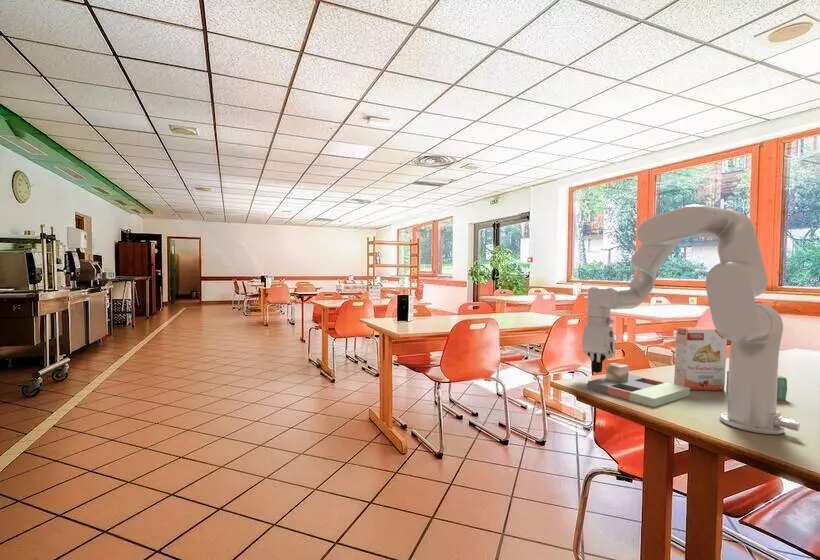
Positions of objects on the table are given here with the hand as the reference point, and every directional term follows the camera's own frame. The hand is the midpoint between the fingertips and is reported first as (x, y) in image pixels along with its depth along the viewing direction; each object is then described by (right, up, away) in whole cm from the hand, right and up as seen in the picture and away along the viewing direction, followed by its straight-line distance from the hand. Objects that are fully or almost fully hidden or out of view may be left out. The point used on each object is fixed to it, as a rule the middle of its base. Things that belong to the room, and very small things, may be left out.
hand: (596, 372), depth 142 cm
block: (+4, -1, -6) cm, 7 cm away
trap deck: (+8, -4, -12) cm, 15 cm away
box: (+45, -5, -14) cm, 48 cm away
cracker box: (+32, -5, -6) cm, 33 cm away
